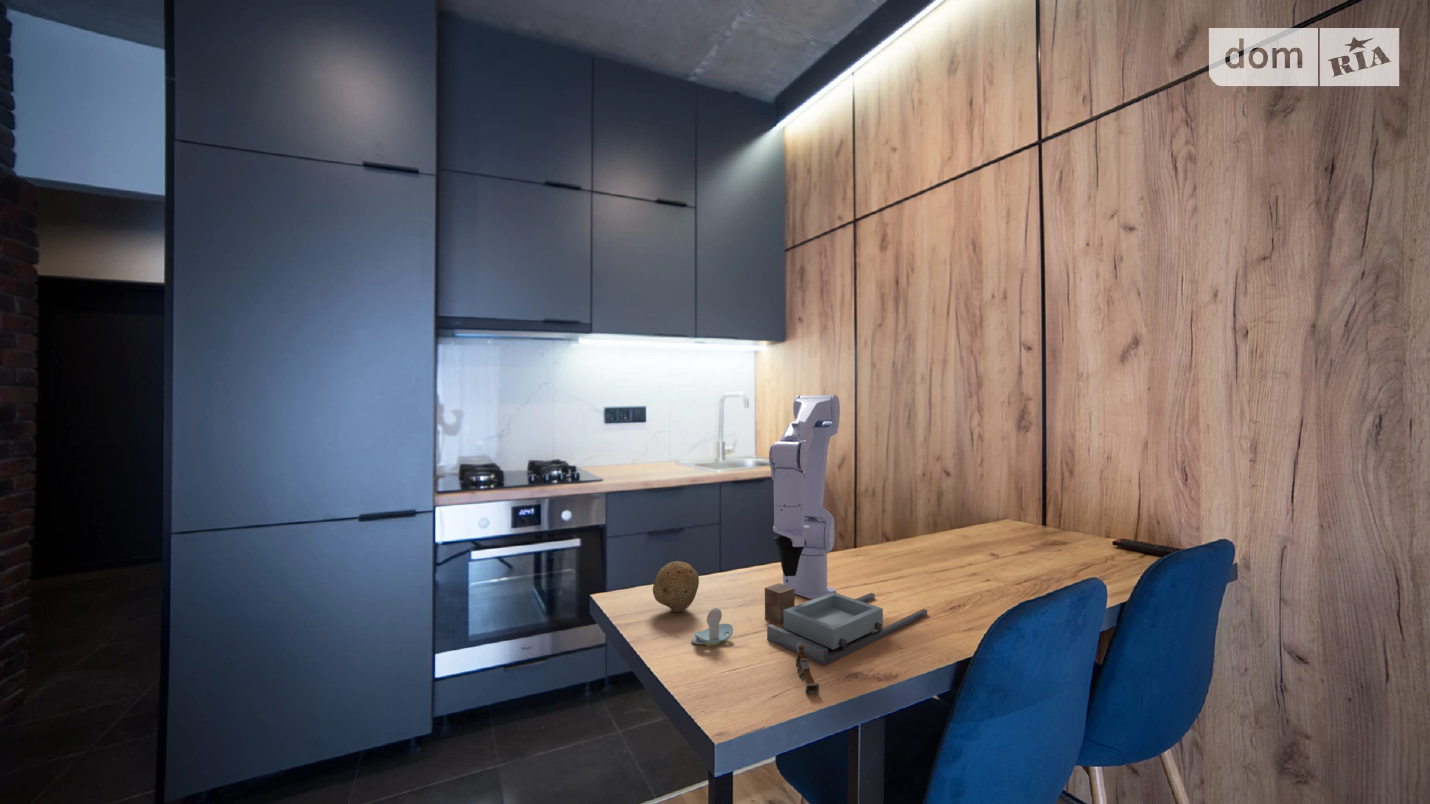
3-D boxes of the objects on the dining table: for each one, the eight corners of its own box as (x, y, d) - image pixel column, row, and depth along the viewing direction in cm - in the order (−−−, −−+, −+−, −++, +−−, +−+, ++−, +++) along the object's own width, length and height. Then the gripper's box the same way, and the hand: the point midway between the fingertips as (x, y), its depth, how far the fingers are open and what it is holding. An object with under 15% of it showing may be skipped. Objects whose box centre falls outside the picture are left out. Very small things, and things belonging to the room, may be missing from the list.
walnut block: (765, 619, 103) (764, 587, 103) (779, 613, 106) (779, 583, 106) (780, 625, 100) (779, 593, 100) (794, 619, 103) (794, 588, 103)
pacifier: (683, 642, 94) (705, 653, 89) (682, 606, 94) (704, 615, 90) (715, 631, 99) (737, 641, 94) (714, 596, 99) (736, 604, 94)
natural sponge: (661, 624, 101) (660, 571, 101) (647, 608, 109) (646, 558, 110) (705, 615, 105) (705, 564, 105) (688, 600, 113) (688, 553, 113)
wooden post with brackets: (801, 659, 85) (804, 638, 83) (815, 706, 78) (819, 684, 76) (790, 660, 85) (793, 639, 83) (803, 706, 78) (807, 684, 76)
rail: (767, 639, 94) (767, 625, 94) (871, 597, 114) (871, 586, 114) (824, 666, 85) (824, 650, 85) (927, 615, 104) (927, 602, 104)
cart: (780, 626, 96) (780, 609, 97) (830, 607, 105) (830, 591, 105) (837, 651, 87) (836, 631, 87) (886, 627, 96) (886, 609, 96)
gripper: (820, 510, 96) (821, 586, 96) (799, 497, 111) (800, 563, 111) (782, 511, 96) (782, 588, 96) (765, 497, 110) (766, 564, 110)
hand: (789, 575), depth 103 cm, fingers closed
